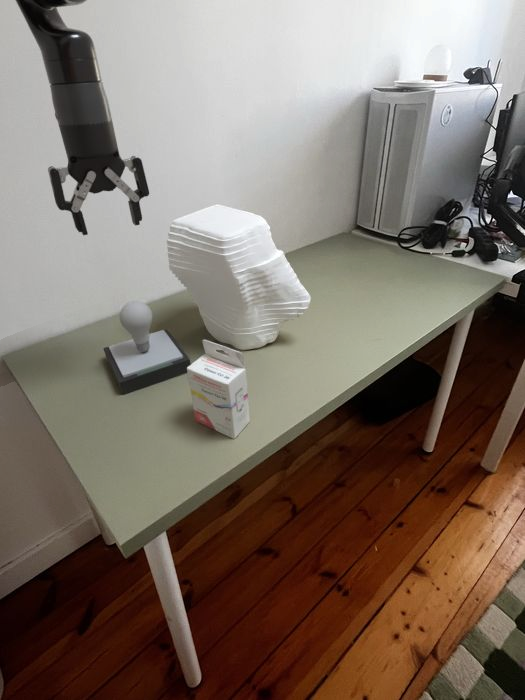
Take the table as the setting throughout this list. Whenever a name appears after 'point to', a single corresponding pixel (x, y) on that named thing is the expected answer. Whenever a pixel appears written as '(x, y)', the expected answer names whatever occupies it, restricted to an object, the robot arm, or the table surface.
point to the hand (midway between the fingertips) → (111, 228)
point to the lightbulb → (137, 323)
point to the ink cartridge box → (220, 390)
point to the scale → (146, 362)
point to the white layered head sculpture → (235, 275)
